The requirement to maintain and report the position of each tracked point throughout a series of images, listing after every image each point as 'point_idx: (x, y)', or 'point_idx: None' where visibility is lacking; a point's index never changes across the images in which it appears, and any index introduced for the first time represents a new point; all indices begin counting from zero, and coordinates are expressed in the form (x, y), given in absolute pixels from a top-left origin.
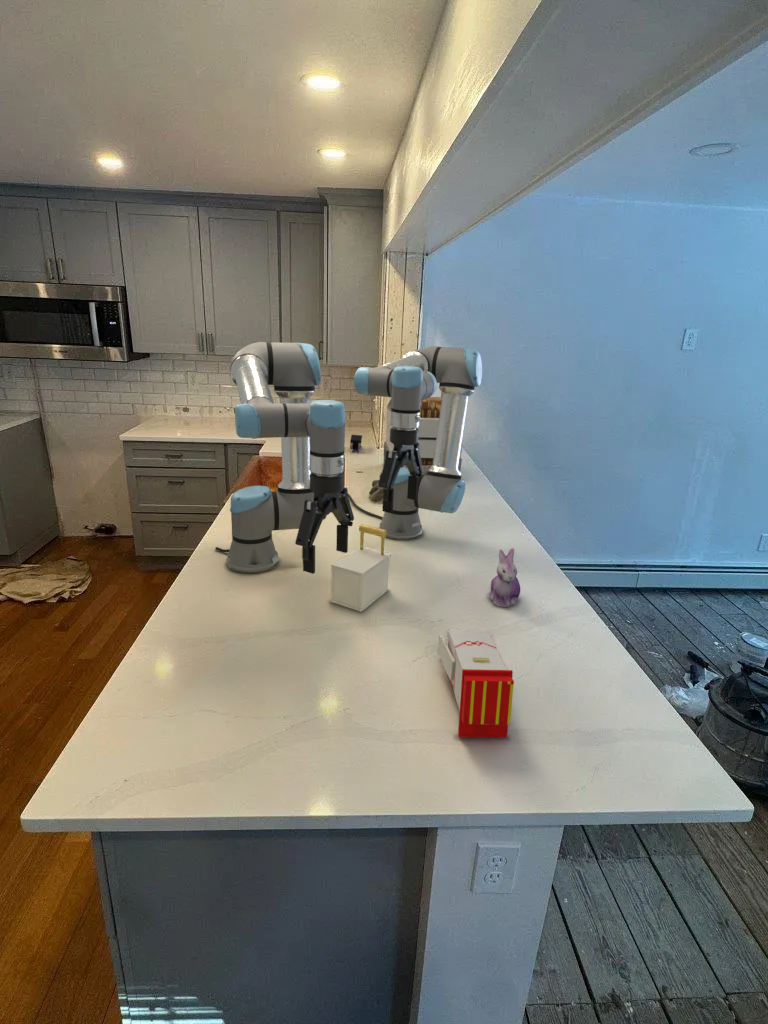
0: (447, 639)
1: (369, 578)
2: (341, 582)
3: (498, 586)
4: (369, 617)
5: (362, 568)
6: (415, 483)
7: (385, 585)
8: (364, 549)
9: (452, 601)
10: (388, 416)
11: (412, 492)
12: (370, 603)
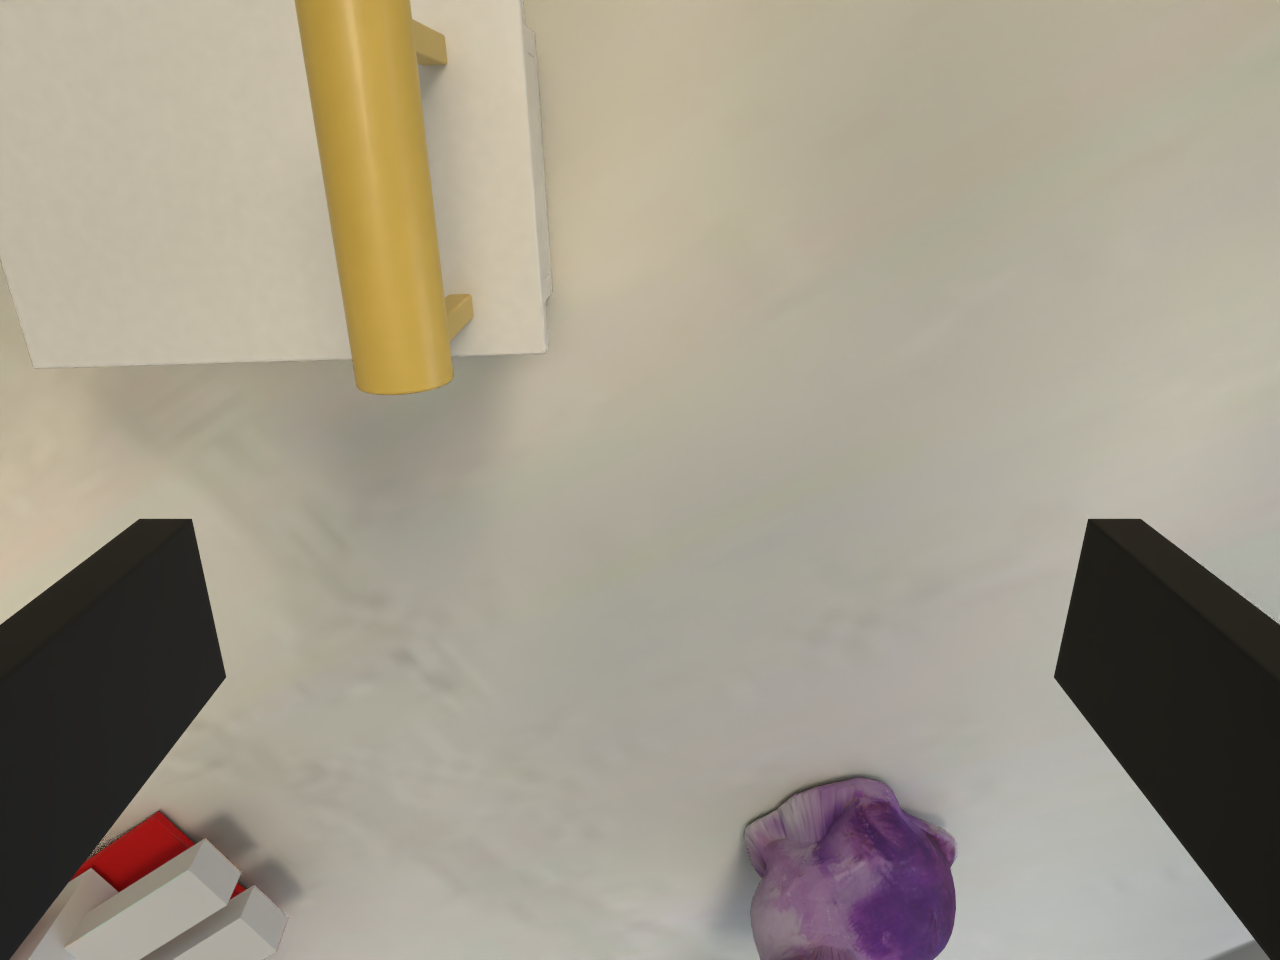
0: (200, 842)
1: None
2: None
3: (757, 922)
4: (199, 376)
5: (104, 313)
6: (1276, 929)
7: None
8: (454, 76)
9: (664, 655)
10: None
11: (1143, 698)
12: None
